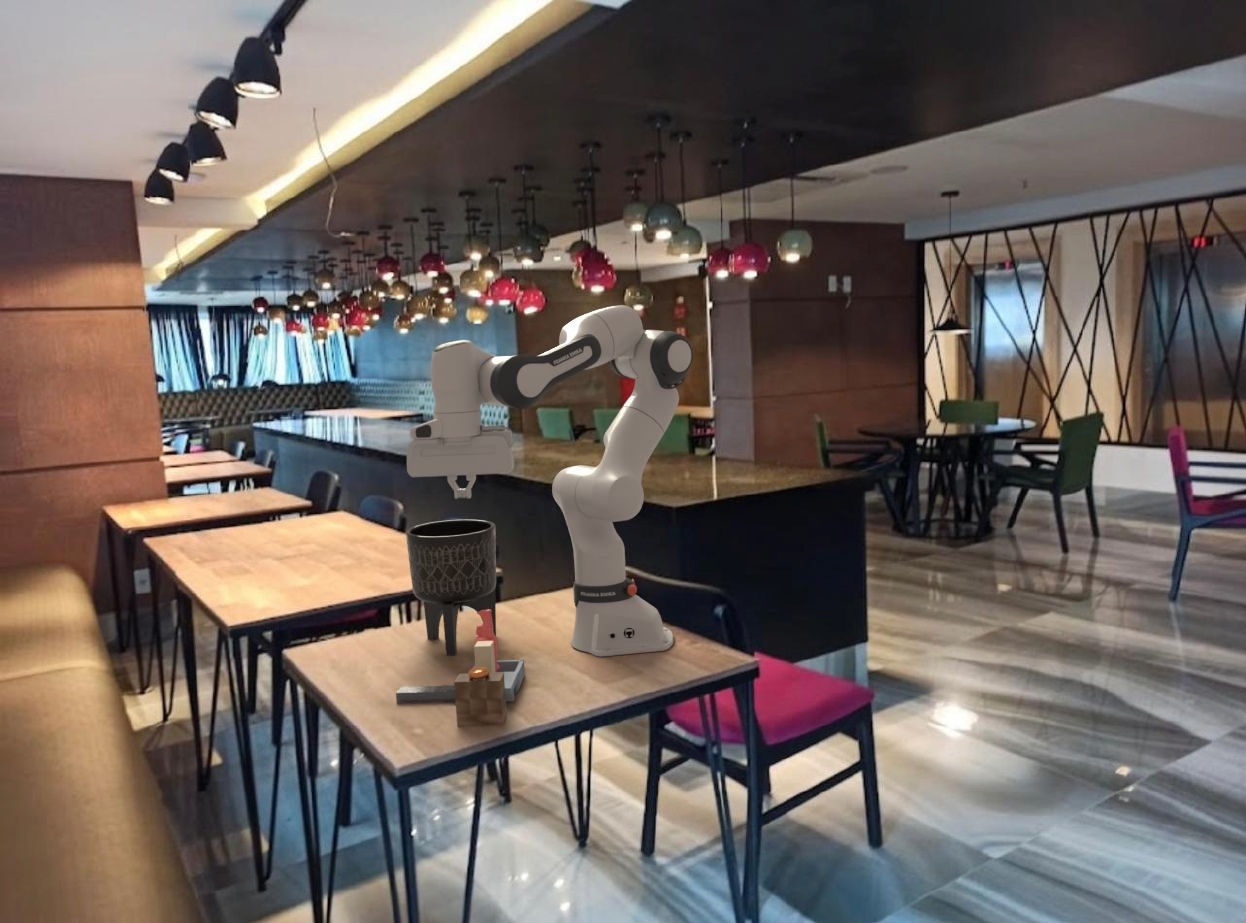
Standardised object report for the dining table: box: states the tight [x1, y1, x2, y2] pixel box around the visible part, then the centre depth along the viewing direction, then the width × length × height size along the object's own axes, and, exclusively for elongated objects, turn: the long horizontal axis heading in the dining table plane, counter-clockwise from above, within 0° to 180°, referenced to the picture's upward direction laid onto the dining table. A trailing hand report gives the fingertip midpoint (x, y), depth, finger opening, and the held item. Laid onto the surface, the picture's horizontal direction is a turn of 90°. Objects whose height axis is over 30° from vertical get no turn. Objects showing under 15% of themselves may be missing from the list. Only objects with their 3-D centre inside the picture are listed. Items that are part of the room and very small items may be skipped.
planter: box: [405, 518, 497, 656], centre depth 201 cm, size 20×20×26 cm
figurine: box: [473, 609, 500, 672], centre depth 176 cm, size 5×5×15 cm
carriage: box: [467, 641, 526, 702], centre depth 172 cm, size 10×16×11 cm, turn 178°
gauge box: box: [453, 673, 507, 727], centre depth 159 cm, size 8×4×8 cm, turn 88°
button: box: [468, 667, 489, 681], centre depth 158 cm, size 4×4×7 cm
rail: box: [395, 685, 516, 704], centre depth 170 cm, size 22×3×2 cm, turn 88°
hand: (463, 498), depth 173 cm, fingers closed
